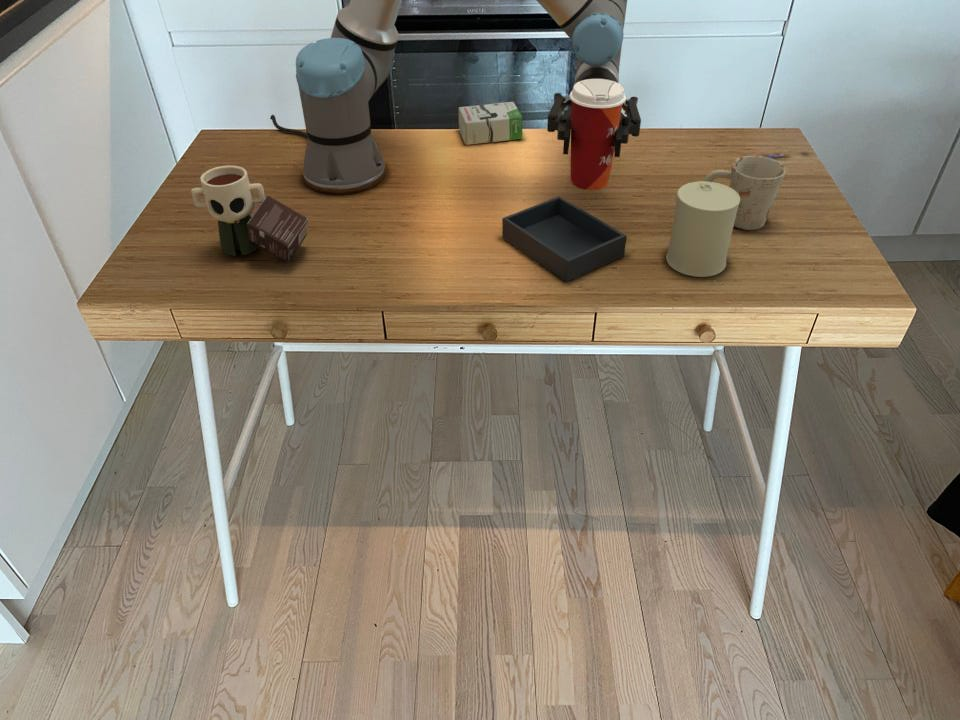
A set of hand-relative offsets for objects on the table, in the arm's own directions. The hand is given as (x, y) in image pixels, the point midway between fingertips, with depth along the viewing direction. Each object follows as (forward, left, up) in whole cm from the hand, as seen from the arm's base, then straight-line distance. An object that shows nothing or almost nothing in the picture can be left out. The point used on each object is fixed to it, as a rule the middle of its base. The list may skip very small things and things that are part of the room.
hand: (591, 147), depth 113 cm
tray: (-3, -2, -18) cm, 18 cm away
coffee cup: (-4, +3, -8) cm, 10 cm away
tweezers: (-3, +52, -17) cm, 55 cm away
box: (-25, -37, -14) cm, 47 cm away
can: (+13, +12, -18) cm, 25 cm away
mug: (+8, +27, -18) cm, 33 cm away
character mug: (-34, -44, -18) cm, 58 cm away
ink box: (-42, +20, -15) cm, 50 cm away
